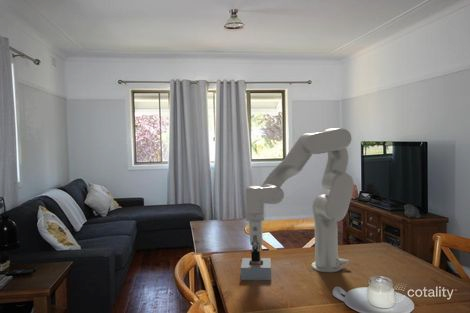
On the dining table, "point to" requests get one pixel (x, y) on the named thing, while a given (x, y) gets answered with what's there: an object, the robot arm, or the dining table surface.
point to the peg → (256, 261)
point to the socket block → (256, 269)
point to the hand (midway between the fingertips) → (256, 257)
